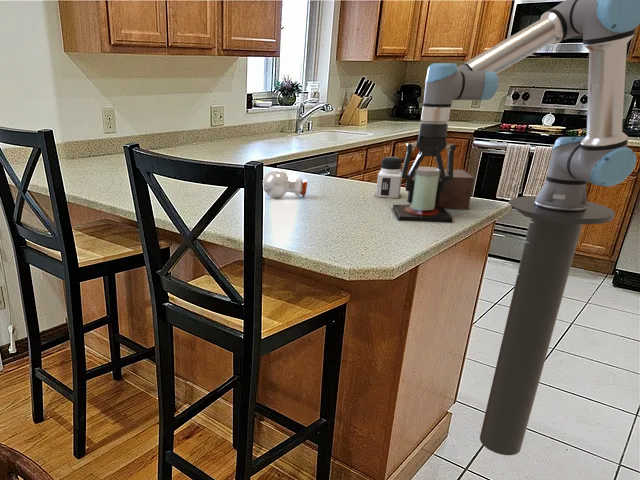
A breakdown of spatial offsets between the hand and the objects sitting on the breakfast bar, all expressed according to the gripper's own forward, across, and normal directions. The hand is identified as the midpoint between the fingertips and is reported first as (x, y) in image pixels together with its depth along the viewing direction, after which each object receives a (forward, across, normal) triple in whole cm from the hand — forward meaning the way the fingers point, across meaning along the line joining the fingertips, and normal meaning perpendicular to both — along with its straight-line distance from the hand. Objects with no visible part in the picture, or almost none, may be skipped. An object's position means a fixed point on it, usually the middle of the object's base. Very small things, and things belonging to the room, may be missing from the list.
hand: (422, 202), depth 158 cm
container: (+4, +7, -26) cm, 27 cm away
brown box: (+4, -9, -16) cm, 19 cm away
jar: (+2, 0, 0) cm, 2 cm away
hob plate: (+4, 0, 0) cm, 4 cm away
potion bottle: (+4, +43, -18) cm, 47 cm away
